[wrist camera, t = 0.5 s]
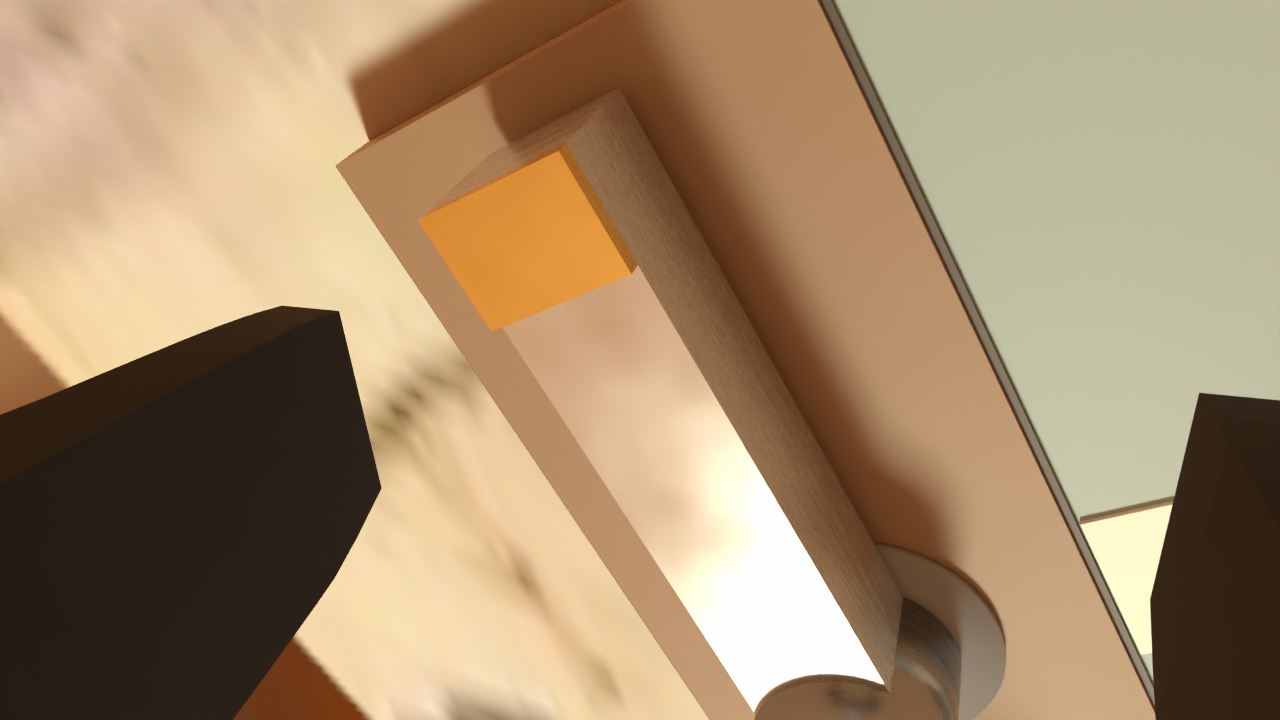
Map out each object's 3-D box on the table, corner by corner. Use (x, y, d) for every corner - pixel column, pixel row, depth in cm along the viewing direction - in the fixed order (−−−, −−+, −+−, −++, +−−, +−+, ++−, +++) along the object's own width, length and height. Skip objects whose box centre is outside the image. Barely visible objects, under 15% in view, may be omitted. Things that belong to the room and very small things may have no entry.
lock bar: (991, 705, 21) (986, 834, 19) (823, 730, 23) (800, 851, 21) (645, 73, 17) (583, 141, 14) (468, 164, 18) (387, 238, 16)
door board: (1761, 663, 18) (1884, 831, 15) (790, 783, 27) (764, 903, 24) (1530, -508, 12) (1670, -557, 9) (367, 142, 21) (272, 211, 18)
